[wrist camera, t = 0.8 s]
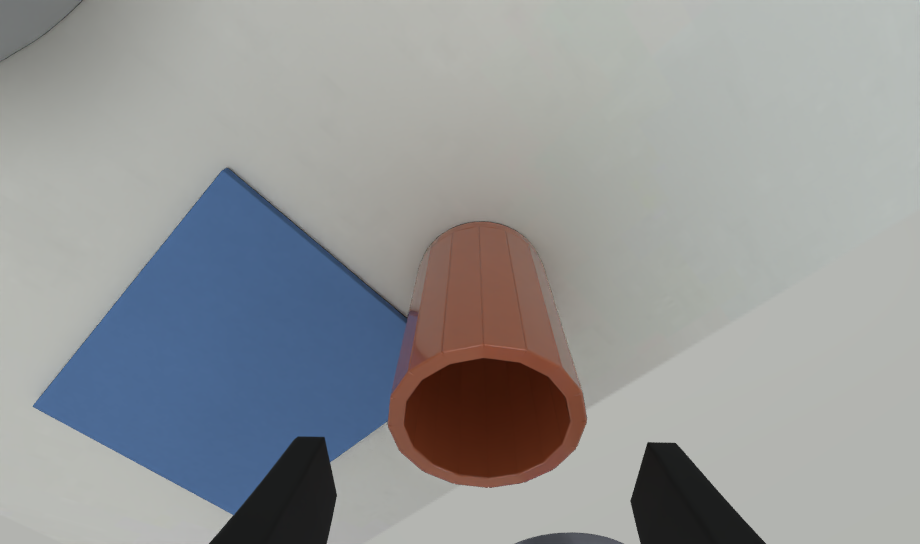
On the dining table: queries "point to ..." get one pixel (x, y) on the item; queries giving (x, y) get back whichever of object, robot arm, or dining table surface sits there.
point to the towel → (232, 352)
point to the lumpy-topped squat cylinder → (29, 21)
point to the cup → (485, 364)
